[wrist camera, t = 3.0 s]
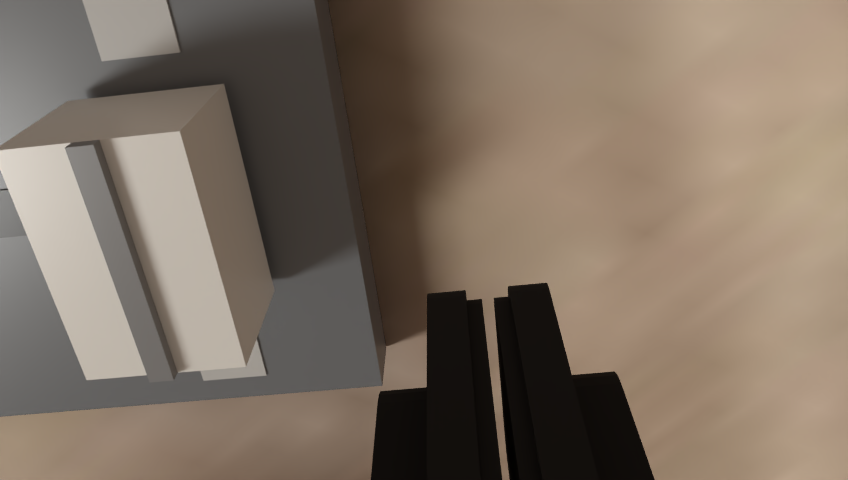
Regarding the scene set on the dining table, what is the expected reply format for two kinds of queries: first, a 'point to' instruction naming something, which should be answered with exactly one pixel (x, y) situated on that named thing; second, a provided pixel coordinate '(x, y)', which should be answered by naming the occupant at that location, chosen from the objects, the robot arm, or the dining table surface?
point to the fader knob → (144, 230)
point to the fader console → (266, 173)
